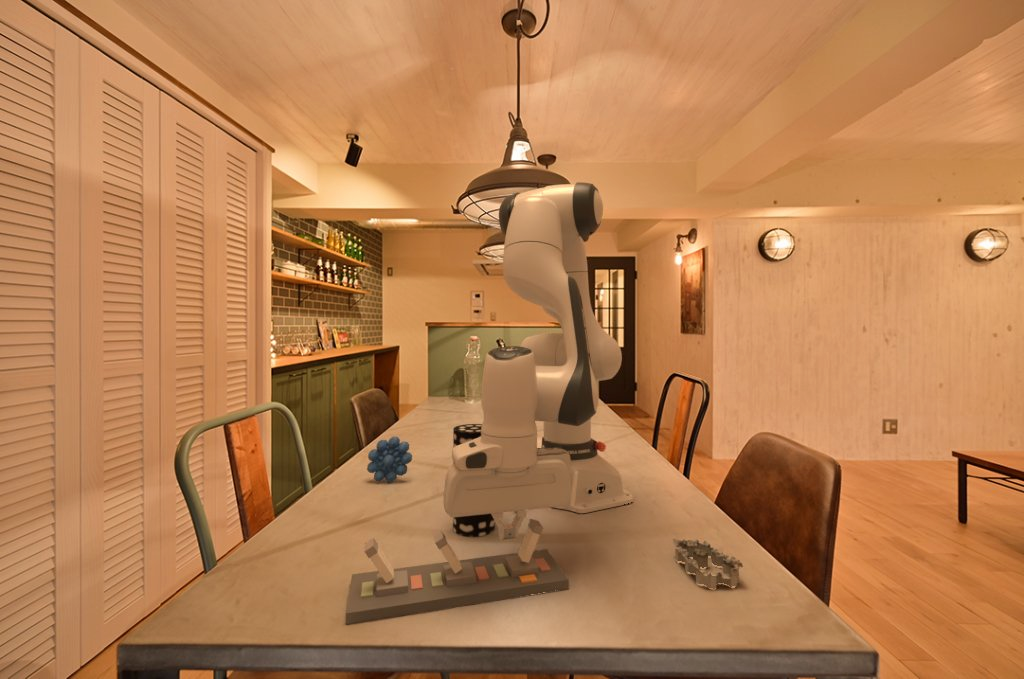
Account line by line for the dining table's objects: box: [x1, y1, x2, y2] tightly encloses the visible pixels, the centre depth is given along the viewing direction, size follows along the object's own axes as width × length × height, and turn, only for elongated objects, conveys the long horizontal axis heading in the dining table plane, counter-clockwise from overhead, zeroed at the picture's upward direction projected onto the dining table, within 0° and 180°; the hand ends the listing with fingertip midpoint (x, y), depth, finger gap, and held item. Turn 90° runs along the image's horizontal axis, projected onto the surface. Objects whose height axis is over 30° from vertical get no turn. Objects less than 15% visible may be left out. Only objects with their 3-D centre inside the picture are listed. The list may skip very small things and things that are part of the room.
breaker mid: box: [433, 530, 462, 574], centre depth 69 cm, size 1×3×6 cm, turn 15°
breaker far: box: [363, 537, 395, 583], centre depth 66 cm, size 1×3×6 cm, turn 15°
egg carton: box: [672, 538, 744, 589], centre depth 74 cm, size 11×8×4 cm
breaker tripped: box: [517, 518, 544, 563], centre depth 72 cm, size 1×3×6 cm, turn 16°
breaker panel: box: [345, 548, 570, 625], centre depth 69 cm, size 32×10×2 cm, turn 105°
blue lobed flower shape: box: [366, 436, 413, 483], centre depth 118 cm, size 12×7×12 cm, turn 91°
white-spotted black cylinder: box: [452, 423, 496, 538], centre depth 90 cm, size 8×8×20 cm
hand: (508, 537), depth 71 cm, fingers closed
